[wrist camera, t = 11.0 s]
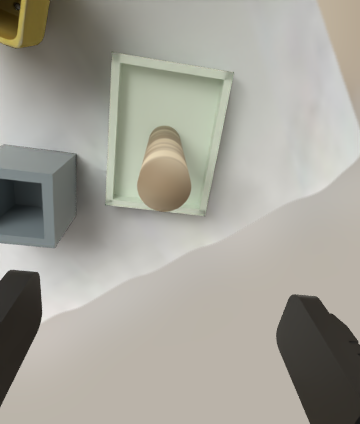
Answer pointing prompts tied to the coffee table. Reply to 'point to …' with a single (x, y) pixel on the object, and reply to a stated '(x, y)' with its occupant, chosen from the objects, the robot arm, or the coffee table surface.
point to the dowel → (164, 172)
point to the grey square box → (36, 195)
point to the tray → (163, 123)
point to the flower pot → (23, 22)
